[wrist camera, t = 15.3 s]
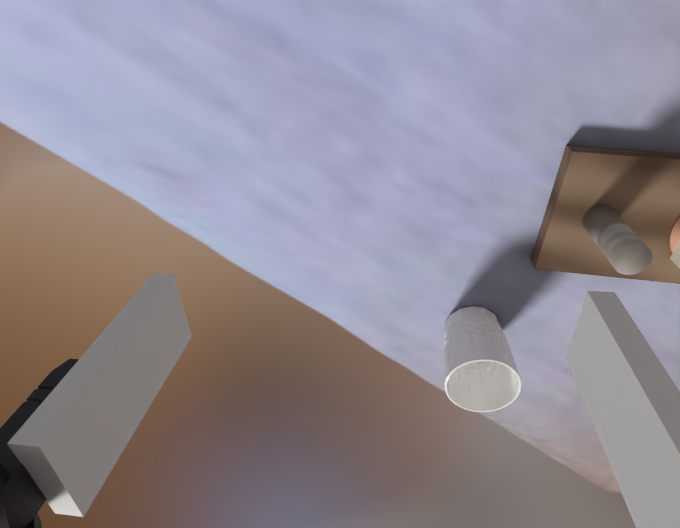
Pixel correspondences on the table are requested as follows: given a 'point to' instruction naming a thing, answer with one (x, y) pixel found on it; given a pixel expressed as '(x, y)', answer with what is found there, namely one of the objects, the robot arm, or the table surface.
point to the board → (626, 194)
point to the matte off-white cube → (676, 254)
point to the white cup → (478, 362)
